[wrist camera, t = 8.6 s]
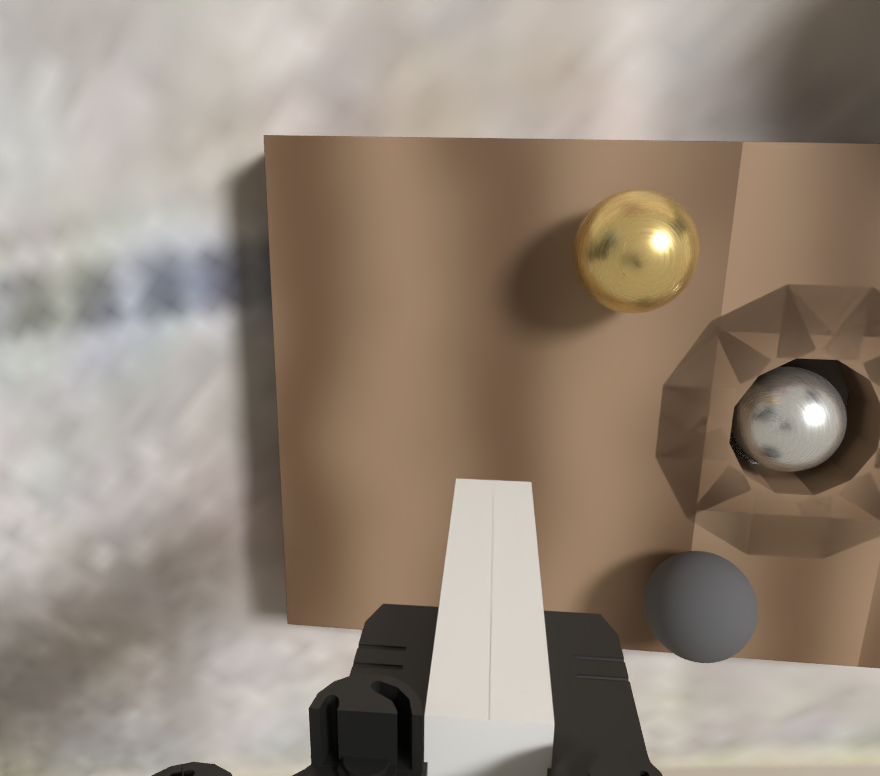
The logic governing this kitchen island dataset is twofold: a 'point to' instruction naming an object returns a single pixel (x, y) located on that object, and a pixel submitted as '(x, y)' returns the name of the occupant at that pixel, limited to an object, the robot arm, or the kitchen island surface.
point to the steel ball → (790, 419)
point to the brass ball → (636, 251)
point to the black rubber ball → (701, 606)
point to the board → (571, 374)
